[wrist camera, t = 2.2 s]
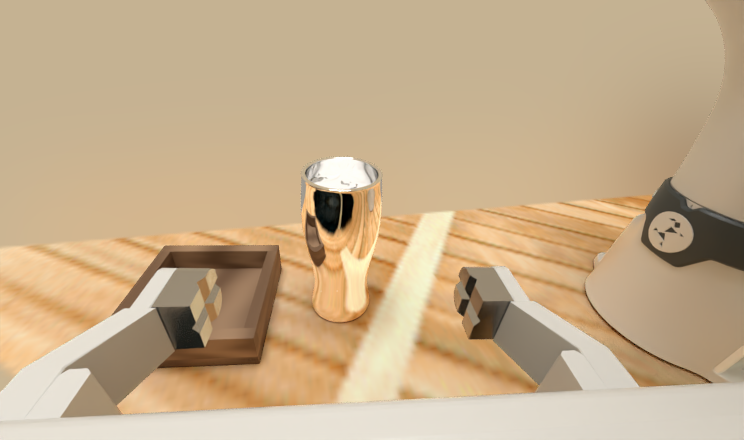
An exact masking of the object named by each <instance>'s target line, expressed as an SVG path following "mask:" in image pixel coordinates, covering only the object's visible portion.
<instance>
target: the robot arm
mask: <svg viewBox="0 0 744 440" xmlns="http://www.w3.org/2000/svg"><path fill="white" fill-rule="evenodd" d="M705 1H706V2H707V4H708V5H709V7H710V8H711V10H712V11H713V13H714V14H715V17H716V19H717V21H718V23H719V26H720V29H721V32H722V36H723V41H724V49H725V67H724V75H723V80H722V84H721V88H720V92H719V95H718V97H717V100H716V102H715V105H714V107H713V110H712V111H711V113H710V115H709V117H708V119H707V121H706V123H705V125H704V127H703V129H702V130H701V132H700V134H699V136H698V137H697V139H696V141H695V143H694V144H693V146H692V148H691V150H690V151H689V153H688V155H687V156H686V158H685V159H684V161H683V163H682V164H681V166H680V167H679V169H678V171H677V172H676V173H675V175H674V176H673V177H670V178H668V179H666V180H665V181H664V182H663V184H662V185H661V186H660V188H659V189H657V190H656V191H655V193H654V194H653V196H652V197H653V198H652V199H651V201H650V203H649V204H648V206H647V207H646V209H645V214H640V215H638V216H636V217H635V218H634V219H633V220H632V221H631V222H630V224H629V225H628V226H627V227H626V228H625V230H624V231H623V232H622V233H621V235H620V236H619V237H618V238H617V240H616V241H615V242H614V243H613V245H612V246H611V247H610V249H609V250H608V251H607V252H606V253H603V252H602V253H599V254H598V255H597V256H596V257H595V258H594V270H593V271H592V272H591V273H590V274H589V275H588V277H587V278H586V281H585V290H586V293H587V296H588V298H589V300H590V302H591V303H592V305H593V306H594V308H595V309H596V310H597V312H598V313H599V314H600V315H601V316H602V317H603V318H604V319H605V320H606V321H607V322H608V323H609V324H610V325H611V326H612V327H613V328H615V329H616V330H617V331H618V332H619V333H621V334H622V335H623V336H625V337H626V338H627V339H629V340H630V341H632V342H633V343H635V344H636V345H638V346H639V347H641V348H643V349H644V350H646V351H648V352H650V353H652V354H653V355H655V356H657V357H659V358H661V359H663V360H665V361H668V362H670V363H672V364H675V365H677V366H680V367H682V368H685V369H687V370H690V371H692V372H694V373H697V374H699V375H701V376H703V377H704V378H706V379H708V380H709V381H711V382H712V383H708V384H690V385H671V386H652V387H640V386H639V385H638V384H637V383H636V381H635V380H634V379H633V378H632V376H631V375H630V374H629V373H628V372H627V370H626V369H625V368H624V367H623V365H622V364H621V363H620V362H619V360H618V359H617V358H616V357H615V355H614V354H613V353H612V352H611V351H610V349H609V348H607V347H606V346H604V345H603V344H601V343H600V342H598V341H596V340H595V339H593V338H592V337H590V336H589V335H587V334H585V333H584V332H582V331H581V330H579V329H578V328H576V327H574V326H573V325H571V324H570V323H568V322H567V321H565V320H563V319H562V318H560V317H559V316H557V315H556V314H554V313H552V312H551V311H549V310H548V309H546V308H545V307H543V306H541V305H540V304H538V303H537V302H535V301H530V300H529V298H528V297H527V296H526V294H525V293H524V291H523V290H522V288H521V287H520V285H519V284H518V282H517V281H516V279H515V278H514V276H513V275H512V273H511V272H510V270H509V269H508V268H507V267H505V266H497V267H463V268H462V269H461V270H460V273H459V278H460V280H461V281H460V282H459V283H458V284H457V285H456V286H455V290H454V302H455V306H456V309H457V312H458V313H460V314H461V315H462V316H463V317H464V318H463V321H462V324H463V327H464V329H465V332H466V334H467V337H468V339H493V341H494V342H495V343H496V344H497V345H498V346H499V347H500V348H501V349H502V350H503V351H504V352H505V353H506V354H507V355H508V356H509V357H511V358H512V359H513V360H514V361H515V362H516V363H517V364H518V365H519V366H520V367H521V368H522V369H523V370H524V371H525V372H526V373H527V374H528V375H529V376H530V377H531V378H532V379H533V380H534V381H535V382H536V383H537V384H538V385H539V387H538V388H537V390H536V391H535V393H519V394H500V395H481V396H463V397H444V398H425V399H406V400H388V401H369V402H350V403H331V404H312V405H293V406H274V407H255V408H236V409H217V410H198V411H179V412H160V413H141V414H122V413H121V411H120V410H119V409H118V407H117V405H118V404H119V403H120V402H121V401H122V400H123V399H124V398H125V397H126V396H127V395H128V394H129V393H130V392H132V391H133V390H134V389H135V388H136V387H137V386H138V385H139V384H140V383H141V382H142V381H143V380H144V379H145V378H147V377H148V376H149V375H150V374H151V373H152V372H153V371H154V370H155V369H156V368H157V367H158V366H159V365H160V364H162V363H163V362H164V361H165V360H166V359H167V358H168V357H169V356H170V355H171V354H172V353H173V352H174V351H175V350H174V349H191V348H205V346H206V344H207V342H208V339H209V337H210V334H211V332H212V330H213V328H212V325H211V322H212V321H213V320H215V319H216V318H217V317H218V315H219V312H220V310H221V304H222V293H221V289H220V287H219V286H217V285H216V284H215V282H216V280H217V275H216V272H215V270H214V269H212V268H161V269H159V270H157V272H156V273H155V274H154V276H153V277H152V278H151V280H150V281H149V282H148V284H147V285H146V287H145V288H144V289H143V291H142V292H141V293H140V295H139V296H138V298H137V299H136V300H135V302H134V303H133V304H132V306H131V307H130V308H125V309H122V310H121V311H119V312H117V313H116V314H114V315H112V316H111V317H109V318H107V319H105V320H104V321H102V322H100V323H99V324H97V325H95V326H94V327H92V328H90V329H89V330H87V331H85V332H84V333H82V334H80V335H78V336H77V337H75V338H73V339H72V340H70V341H68V342H67V343H65V344H63V345H62V346H60V347H58V348H57V349H55V350H53V351H51V352H50V353H48V354H46V355H45V356H43V357H41V358H40V359H38V360H36V361H35V362H33V363H31V364H30V365H28V366H26V367H24V368H23V369H21V370H20V372H19V373H18V374H17V375H16V376H15V377H14V378H13V379H12V380H11V381H10V383H9V384H8V385H7V386H6V387H5V388H4V389H3V390H2V391H1V392H0V440H744V0H705Z"/></svg>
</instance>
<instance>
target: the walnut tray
mask: <svg viewBox="0 0 744 440" xmlns="http://www.w3.org/2000/svg"><path fill="white" fill-rule="evenodd" d="M161 268H212V269H214V270H215V272H216V275H217V280H216V282H215V284H216V285H217V286H219V287H220V289H221V293H222V304H221V310H220V312H219V315H218V317H217V318H216V319H215V320H213V321H212V322H211V325H212V328H213V330H212V332H211V334H210V337H209V339H208V342H207V344H206V346H205V348H191V349H174V350H175V351H174V352H173V353H172V354H171V355H170V356H169V357H168V358H167V359H166V360H165V361H164V362H163V363H162V364H160V365H159V366H158V367H157V368H165V367H189V366H213V365H237V364H259V363H260V359H261V355H262V350H263V346H264V342H265V337H266V333H267V329H268V325H269V320H270V316H271V312H272V307H273V303H274V299H275V295H276V290H277V286H278V282H279V277H280V273H281V269H282V268H281V261H280V253H279V245H236V246H164V247H163V249H162V250H161V251H160V253H159V254H158V255H157V257H156V258H155V259H154V260H153V262H152V263H151V264H150V266H149V267H148V268H147V270H146V271H145V272H144V274H143V275H142V276H141V278H140V279H139V280H138V281H137V283H136V284H135V285H134V287H133V288H132V289H131V291H130V292H129V293H128V295H127V296H126V297H125V299H124V300H123V301H122V302H121V304H120V305H119V306H118V308H117V309H116V310H115V312H114V313H113V314H112V315H114V314H116V313H117V312H119V311H121V310H122V309H125V308H130V307H131V306H132V304H133V303H134V302H135V300H136V299H137V298H138V296H139V295H140V293H141V292H142V291H143V289H144V288H145V287H146V285H147V284H148V282H149V281H150V280H151V278H152V277H153V276H154V274H155V273H156V272H157V270H159V269H161Z"/></svg>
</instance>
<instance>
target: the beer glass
mask: <svg viewBox="0 0 744 440" xmlns="http://www.w3.org/2000/svg"><path fill="white" fill-rule="evenodd" d="M301 179H302V180H301V217H302V227H303V233H304V238H305V242H306V246H307V250H308V253H309V257H310V260H311V263H312V267H313V270H314V276H315V284H314V290H313V295H312V305H313V308H314V310H315V311H316V313H317V314H318V315H319V316H321V317H322V318H324V319H326V320H328V321H331V322H348V321H352V320H354V319H356V318H358V317H360V316H361V315H362V314H363V313H364V312H365V311H366V309H367V307H368V304H369V292H368V286H367V274H368V270H369V266H370V263H371V260H372V257H373V253H374V250H375V247H376V243H377V239H378V235H379V230H380V223H381V211H382V172H381V170H380V169H379V168H378V167H377V166H376V165H374V164H373V163H371V162H368V161H366V160H362V159H358V158H353V157H326V158H321V159H317V160H314V161H312V162H310V163H308V164H307V165H305V166H304V167H303V169H302V171H301Z"/></svg>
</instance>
